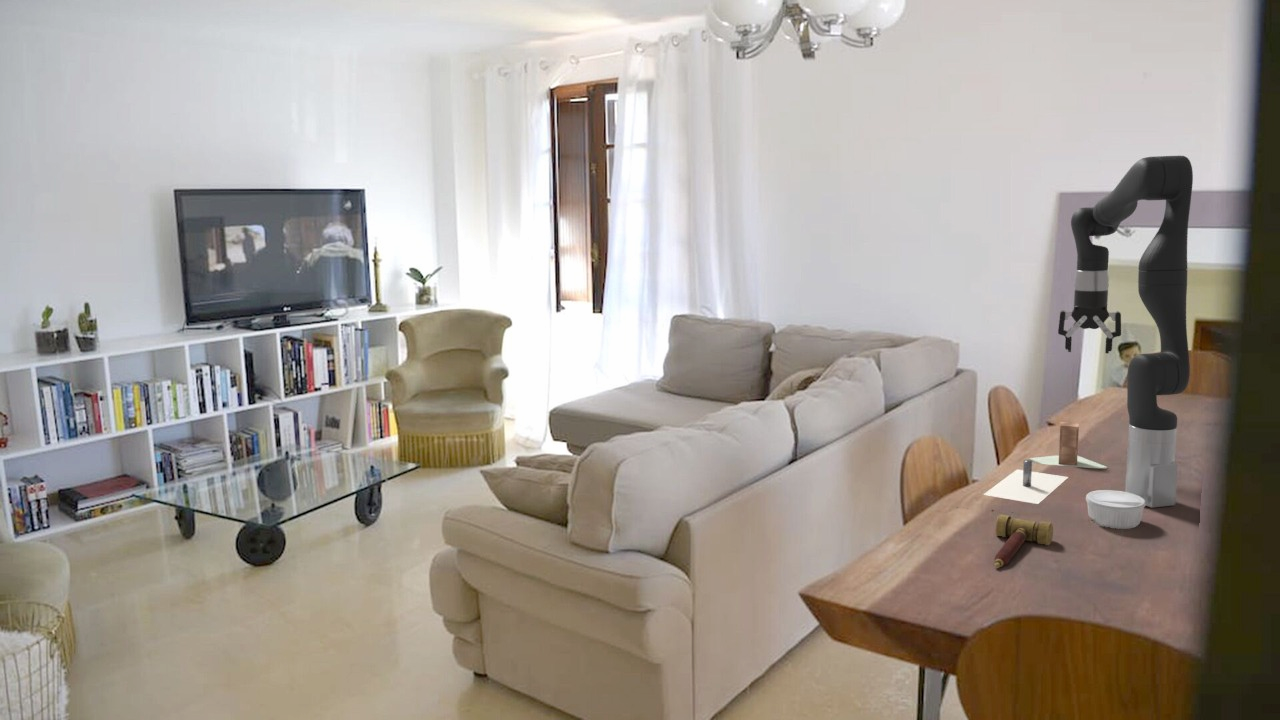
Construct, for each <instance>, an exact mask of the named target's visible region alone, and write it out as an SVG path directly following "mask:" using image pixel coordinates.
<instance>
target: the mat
mask: <svg viewBox="0 0 1280 720" xmlns="http://www.w3.org/2000/svg"><path fill="white" fill-rule="evenodd" d="M1028 460H1031V461H1032V463H1035V462H1036V463H1035V464H1038V463H1039V464H1038V465H1048V466H1049V465H1050V466H1064V467H1073V468H1075V467H1076V468H1087V469H1088V468H1089V469H1100V470H1106V469H1107V468H1109V467H1108V466H1106V465H1103V464H1101V463H1098V462H1095V461H1093V460H1091V459H1087V458H1085V457H1082V456H1080V455H1077V465H1064V464H1059V454H1058V455H1047V456H1046V455H1045V456H1040V457H1039V456H1037V457H1029V458H1028ZM1107 470H1108V469H1107Z"/></svg>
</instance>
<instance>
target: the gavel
mask: <svg viewBox="0 0 1280 720" xmlns="http://www.w3.org/2000/svg"><path fill="white" fill-rule="evenodd" d="M995 535H996V536H997V537H998V536H1002V537H1001V538H1004V537H1007V536H1008V537H1007V538H1008V539H1007V540H1006V541H1005V543H1004V544H1003V545H1002V546H1001V548H1000V549H999V550H998V552H997V553H996V555H995V556H994V567H995V568H996V569H999V568H1002V567H1004V566H1008V564H1009V562H1011V560H1012V559H1013V558H1014V556H1015V554H1016V553H1017V552H1018V551H1019V549H1020V548H1021V547H1022V545H1023V544H1024V542H1025V541H1028V542H1032V541H1034V542H1037V544H1038V545H1042V544H1045V545H1044V546H1047V545H1048V546H1049V545H1050V544H1051V543H1052V542H1051V541H1053V537H1054V525H1053V523H1052V522H1047V521H1040V522H1036V521H1033V520H1026V519H1022V518H1017V517H1016V518H1012V516H1011V515H1007V514H999V515H998V516H997V519H996V523H995ZM1009 536H1010V537H1009ZM1050 542H1051V543H1050Z"/></svg>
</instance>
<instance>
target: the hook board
mask: <svg viewBox="0 0 1280 720" xmlns="http://www.w3.org/2000/svg"><path fill="white" fill-rule="evenodd" d="M1022 466H1023V469H1017V468H1016V469H1015V470H1014V471H1013V472H1011V473H1010V474H1009V475H1007V476H1005V478H1004V479H1002V480H1001V481H999V482H998V483H997V484H995V486H992V488H990V489H989V490H986V492H985V493H983V494H982V495H983V496H987V497H988V496H989V497H994V498H1000V499H1004V500H1010V501H1016V502H1021V503H1027V504H1033V505H1039V504H1040V503H1041V502H1043V501H1044V500H1045V499H1046V498H1047V497H1048V496H1049V495H1051V494H1052V492H1054V491H1055V490H1057V488H1058V487H1059V486H1060V485H1062V484H1063V483H1064V482H1065V481H1066V480H1067V479H1069V476H1063V475H1056V474H1049V473H1044V472H1037V471H1032V470H1033V461H1031V460H1029V459H1024V460H1023V465H1022Z"/></svg>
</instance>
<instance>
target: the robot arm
mask: <svg viewBox="0 0 1280 720" xmlns="http://www.w3.org/2000/svg"><path fill="white" fill-rule="evenodd" d="M1193 176H1194V174H1193V166H1192V163H1191V161H1190V158H1188V157H1187V156H1185V155H1163V156H1162V155H1161V156H1147V157H1144V158H1140V159H1139V160H1137V161H1136V162H1135V163H1134V164H1133V165H1132V166H1131V167H1130V169H1128V171H1127V172H1126V173H1125V174H1124V176H1123V177H1122V178H1121V180H1119V182H1118V184H1117V185H1116V186H1115V188H1114V189H1113V190H1112V191H1110V192H1109V193H1108V194H1107V195H1105V196H1104V197H1102V198H1101V199H1099V200H1098V201H1097V203H1095V205H1094V206H1093V207H1090V206H1089V207H1079V208H1078V209H1076V210H1075V211H1074V212H1073V214H1072V215H1071V219H1070V227H1071V231H1072V235H1073V237H1074V239H1073V240H1074V242H1075V243H1074V244H1075V246H1076V247H1075V248H1076V255H1077V257H1076V258H1077V259H1076V273H1075V278H1074V279H1075V280H1074V298H1073V310H1072V311H1066V310H1062V309H1061V311H1060V312H1059V313H1060V314H1059V320H1058V331H1057V332H1058V335H1060V336H1063V337H1064V338H1065V343H1064V344H1065V345H1064V348H1065V350H1066V351H1067V352H1068V353H1072V340H1073V339H1072V338H1073V337H1072V335H1074V333H1075V332H1076V331H1077V330H1078V329H1079V328H1080V329H1083V330H1085V329H1086V330H1088V329H1092V330H1096V329H1101V331H1102V332H1103V333H1104V334H1105V336H1106V338H1105V349H1104V354H1110V352H1112V350H1113V339H1114V338H1116V337H1120V336H1121V335H1122V315H1121V314H1122V313H1121V312H1120V311H1118V310H1117V311H1115V312H1114V311H1113V312H1111V311H1110V312H1109V311H1108V297H1109V257H1110V256H1109V255H1110V251H1109V249H1108V247H1106V246H1103V245H1099V244H1094V243H1093V242H1092V240H1091V238H1090V237H1101V236H1103V237H1105V236H1110V235H1113V234H1114V233H1116V231H1117V230H1118V229H1119V226H1120V225H1121V223H1122V222H1123V221H1125V220H1126V219H1128V218H1129V217H1130V216H1132V214H1134V212H1135V211H1136V210H1137V207H1138V201H1143V200H1144V201H1165V210H1164V216H1163V219H1162V221H1161V225H1160V227H1159V228H1158V230H1157V232H1156V234H1155V235H1154V237H1153V238H1152V240H1151V241H1150V242H1149V244H1148V245H1147V247H1146V248H1145V250H1144V251H1143V254H1142V255H1141V256H1140V259H1139V263H1138V271H1137V272H1138V277H1137V278H1138V279H1137V280H1138V281H1137V282H1138V283H1137V285H1138V287H1137V289H1138V295H1139V298H1140V301H1142V304H1143V305H1144V308H1146V310H1147V312H1148V313H1149V314H1150V317H1152V319H1153V321H1154V322H1155V326H1156V327H1157V329H1158V333H1159V339H1160V352H1155V353H1154V352H1152V353H1149V352H1148V353H1139V354H1136V355H1134V356H1133V357H1132V358H1131V360H1130V362H1129V364H1128V368H1127V373H1126V374H1127V375H1126V377H1127V379H1126V380H1127V381H1126V382H1127V383H1126V384H1127V385H1126V387H1127V389H1126V390H1127V391H1126V392H1127V397H1126V398H1127V399H1126V403H1127V404H1126V405H1127V407H1126V408H1127V412H1128V418H1129V420H1128V423H1129V424H1128V436H1127V437H1128V438H1127V439H1128V440H1127V452H1126V454H1127V455H1126V470H1125V489H1124V492H1128V493H1132V494H1135V495H1138V496H1140V497H1142V498H1143V499H1144V500H1145V507H1149V508H1160V507H1162V508H1163V507H1169V506H1176V498H1177V497H1176V495H1177V484H1178V472H1179V471H1178V469H1179V464H1178V462H1175V459H1176V458H1175V457H1176V456H1175V455H1176V444H1177V428H1178V416H1177V414H1176V413H1174V412H1172V411H1170V410H1167V409H1163V408H1160V407H1159V406H1158V399H1157V398H1158V397H1157V396H1171V395H1179V394H1182V393H1183V392H1184V391H1185V390H1186V389H1187V387H1188V385H1189V381H1190V376H1191V375H1190V373H1191V372H1190V371H1191V369H1190V368H1191V367H1190V356H1189V355H1190V352H1189V343H1188V334H1187V333H1188V332H1187V294H1188V293H1187V292H1188V291H1187V290H1188V234H1189V233H1188V232H1189V231H1188V230H1189V220H1190V218H1189V217H1190V213H1191V212H1190V209H1191V204H1192V203H1191V201H1192V193H1193V184H1194V183H1193V182H1194V177H1193ZM1070 317H1072V319H1073V320H1074V323H1073V324H1072V326H1071V327H1070V328H1069V329H1068V330H1066V329H1065V321H1067V320H1069V318H1070ZM1108 318H1111V320H1112V321H1113V322H1114V324H1115V325H1114V331H1111V330H1110V328H1109V327H1108V326H1106V323H1105V322H1106V321H1107V319H1108Z"/></svg>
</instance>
